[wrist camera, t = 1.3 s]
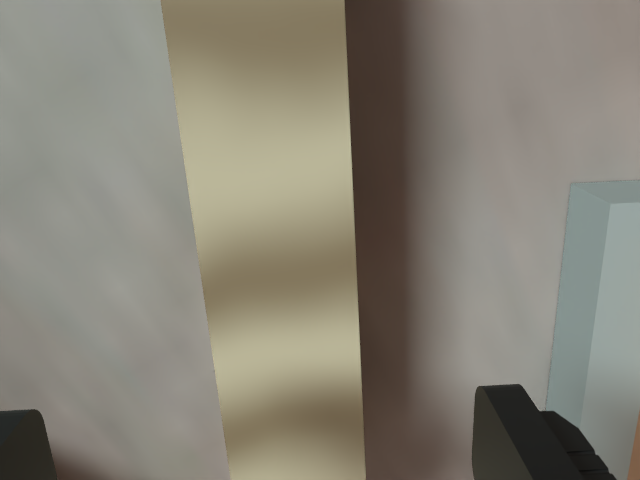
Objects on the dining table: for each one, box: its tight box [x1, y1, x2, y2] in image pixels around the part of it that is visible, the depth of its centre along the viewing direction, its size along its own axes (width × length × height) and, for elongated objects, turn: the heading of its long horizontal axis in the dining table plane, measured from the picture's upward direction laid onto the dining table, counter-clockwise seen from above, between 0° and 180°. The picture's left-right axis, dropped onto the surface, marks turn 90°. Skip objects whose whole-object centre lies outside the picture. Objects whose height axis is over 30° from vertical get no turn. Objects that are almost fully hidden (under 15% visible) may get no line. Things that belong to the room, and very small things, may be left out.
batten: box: [161, 0, 366, 480], centre depth 20 cm, size 22×5×5 cm, turn 4°
